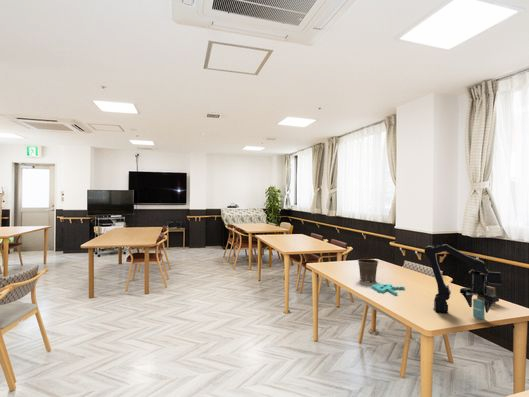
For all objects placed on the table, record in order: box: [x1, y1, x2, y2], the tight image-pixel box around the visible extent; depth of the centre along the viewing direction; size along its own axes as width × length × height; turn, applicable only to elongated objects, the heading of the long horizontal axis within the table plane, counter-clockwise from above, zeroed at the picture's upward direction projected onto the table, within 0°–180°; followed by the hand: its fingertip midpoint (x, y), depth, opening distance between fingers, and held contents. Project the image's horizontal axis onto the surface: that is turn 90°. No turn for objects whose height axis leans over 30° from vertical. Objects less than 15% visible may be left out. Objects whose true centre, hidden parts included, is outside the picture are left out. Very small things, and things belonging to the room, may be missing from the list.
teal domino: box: [472, 298, 485, 320], centre depth 178 cm, size 2×5×10 cm, turn 21°
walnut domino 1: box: [476, 294, 487, 306], centre depth 202 cm, size 2×5×10 cm, turn 21°
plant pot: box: [357, 258, 379, 282], centre depth 260 cm, size 16×16×16 cm
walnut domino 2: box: [487, 285, 496, 305], centre depth 205 cm, size 2×5×10 cm, turn 21°
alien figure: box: [371, 283, 406, 296], centre depth 233 cm, size 20×2×20 cm
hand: (478, 309), depth 178 cm, fingers open, 9 cm apart
